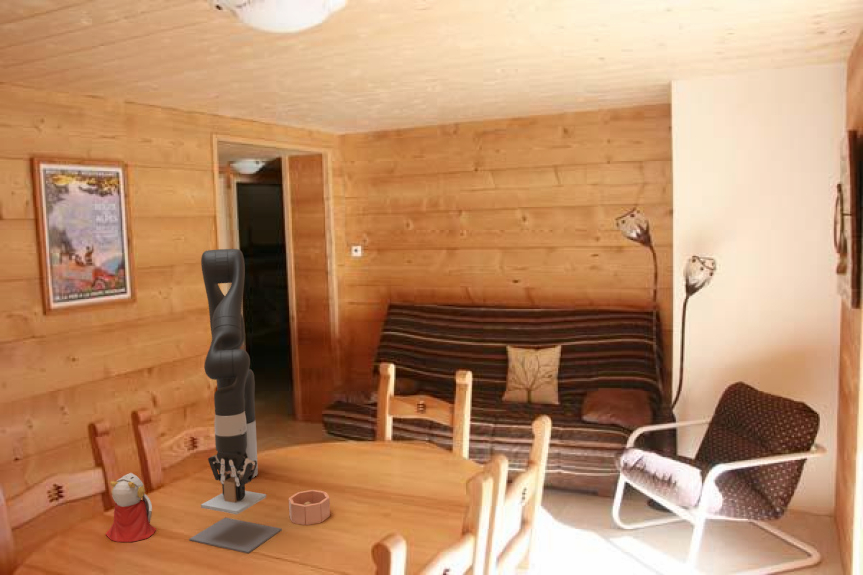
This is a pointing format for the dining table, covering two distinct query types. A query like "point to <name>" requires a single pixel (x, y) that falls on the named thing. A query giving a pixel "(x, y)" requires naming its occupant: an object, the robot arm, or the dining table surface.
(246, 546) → the mat
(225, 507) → the lid
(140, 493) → the figurine
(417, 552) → the dining table surface
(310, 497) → the bowl
